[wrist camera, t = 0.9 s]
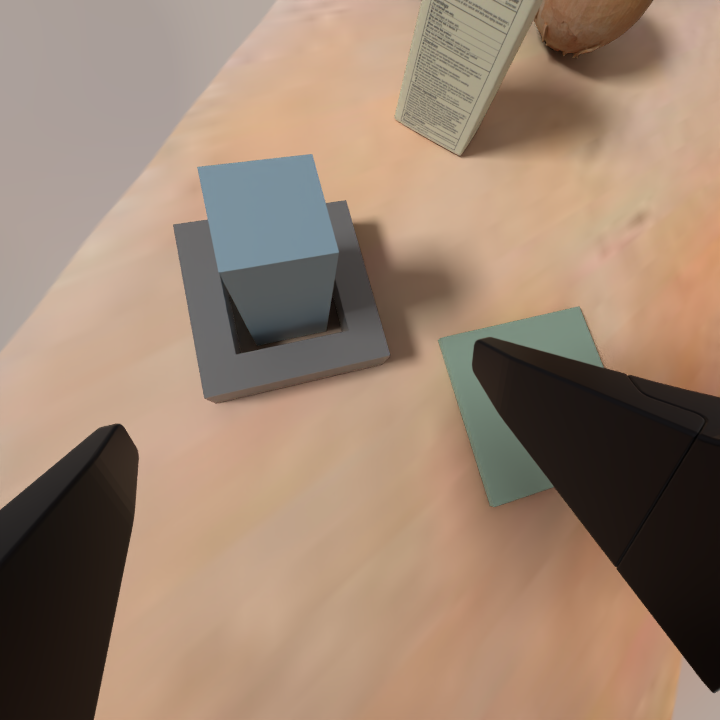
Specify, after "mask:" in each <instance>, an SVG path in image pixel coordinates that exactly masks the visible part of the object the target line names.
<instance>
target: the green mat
mask: <svg viewBox="0 0 720 720" xmlns="http://www.w3.org/2000/svg"><path fill="white" fill-rule="evenodd" d="M486 337H493V338H497V339H501V340H504V341H508V342H511V343H515V344H519V345H522V346H526V347H530V348H533V349H537V350H541V351H544V352H548V353H552V354H555V355H559V356H562V357H566V358H570V359H573V360H577V361H581V362H584V363H588V364H592V365H595V366H599V367H603V365H602V362H601V360H600V357H599V355H598V352H597V350H596V347H595V345H594V342H593V340H592V337H591V335H590V332H589V330H588V327H587V325H586V322H585V320H584V317H583V315H582V312H581V310H580V307H575V308H570V309H566V310H562V311H557V312H553V313H548V314H544V315H540V316H535V317H531V318H526V319H522V320H518V321H513V322H509V323H504V324H500V325H496V326H491V327H487V328H483V329H478V330H474V331H469V332H465V333H461V334H456V335H452V336H447V337H443V338H440V339H439V340H438V342H439V345H440V348H441V351H442V354H443V358H444V361H445V364H446V367H447V370H448V373H449V377H450V380H451V383H452V386H453V389H454V393H455V396H456V399H457V402H458V405H459V408H460V412H461V415H462V418H463V421H464V424H465V427H466V431H467V434H468V437H469V440H470V443H471V447H472V450H473V453H474V456H475V459H476V462H477V466H478V469H479V472H480V475H481V478H482V481H483V485H484V488H485V491H486V494H487V497H488V501H489V504H490V506H492V507H496V506H499V505H502V504H505V503H508V502H511V501H514V500H517V499H520V498H523V497H526V496H529V495H532V494H535V493H538V492H541V491H544V490H547V489H550V488H553V487H554V486H553V485H552V484H551V482H550V481H549V480H548V478H547V477H546V476H545V474H544V473H543V472H542V470H541V469H540V468H539V467H538V465H537V464H536V463H535V461H534V460H533V459H532V457H531V456H530V455H529V453H528V452H527V451H526V450H525V448H524V447H523V446H522V444H521V443H520V442H519V440H518V439H517V438H516V436H515V435H514V434H513V433H512V431H511V430H510V429H509V427H508V426H507V425H506V423H505V422H504V421H503V419H502V418H501V417H500V415H499V414H498V412H497V411H496V409H495V407H494V406H493V404H492V403H491V401H490V399H489V398H488V396H487V394H486V393H485V391H484V389H483V388H482V386H481V384H480V383H479V381H478V379H477V378H476V376H475V374H474V372H473V370H472V358H473V349H474V343H475V341H476V340H478V339H482V338H486ZM603 368H604V367H603Z"/></svg>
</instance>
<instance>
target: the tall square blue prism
mask: <svg viewBox="0 0 720 720" xmlns="http://www.w3.org/2000/svg"><path fill="white" fill-rule="evenodd" d="M197 168H198V173H199V178H200V183H201V188H202V193H203V198H204V203H205V208H206V212H207V217H208V222H209V227H210V232H211V237H212V242H213V247H214V252H215V257H216V262H217V267H218V272H219V274H220V276H221V278H222V280H223V282H224V284H225V286H226V288H227V290H228V292H229V294H230V296H231V297H232V299H233V301H234V303H235V305H236V307H237V309H238V311H239V313H240V315H241V317H242V319H243V320H244V322H245V324H246V326H247V328H248V330H249V332H250V334H251V336H252V338H253V340H254V342H255V343H256V345H257V346H258V345H263V344H268V343H273V342H277V341H282V340H287V339H292V338H296V337H301V336H306V335H311V334H315V333H320V332H325V331H326V330H327V324H328V317H329V311H330V305H331V299H332V293H333V287H334V280H335V274H336V268H337V262H338V256H339V250H338V247H337V243H336V240H335V236H334V232H333V229H332V225H331V221H330V218H329V214H328V210H327V207H326V203H325V199H324V196H323V192H322V188H321V185H320V181H319V177H318V174H317V170H316V166H315V163H314V159H313V155H312V154H309V155H300V156H291V157H282V158H273V159H265V160H256V161H247V162H238V163H229V164H220V165H211V166H202V167H197Z"/></svg>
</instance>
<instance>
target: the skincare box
mask: <svg viewBox="0 0 720 720" xmlns="http://www.w3.org/2000/svg"><path fill="white" fill-rule="evenodd" d="M542 2H543V0H422V1H421V6H420V9H419V14H418V18H417V22H416V26H415V30H414V35H413V39H412V44H411V48H410V53H409V57H408V61H407V65H406V70H405V74H404V78H403V82H402V87H401V91H400V96H399V100H398V104H397V109H396V113H395V119H396V120H397V121H398V122H400V123H402V124H403V125H405V126H407V127H408V128H410V129H412V130H414V131H415V132H417V133H419V134H421V135H423V136H424V137H426V138H428V139H429V140H431V141H433V142H435V143H437V144H438V145H440V146H442V147H444V148H446V149H447V150H449V151H451V152H453V153H455V154H457V155H459V156H460V155H461V154H462V153H463V152H464V150H465V149H466V147H467V146H468V144H469V143H470V141H471V140H472V138H473V136H474V135H475V133H476V131H477V130H478V128H479V126H480V124H481V122H482V120H483V118H484V116H485V114H486V113H487V111H488V109H489V107H490V105H491V103H492V101H493V99H494V97H495V95H496V93H497V91H498V89H499V87H500V85H501V83H502V81H503V79H504V77H505V75H506V73H507V71H508V69H509V67H510V65H511V63H512V61H513V59H514V57H515V55H516V53H517V51H518V49H519V47H520V45H521V43H522V41H523V39H524V37H525V35H526V33H527V31H528V30H529V28H530V26H531V24H532V22H533V20H534V18H535V16H536V14H537V12H538V10H539V8H540V6H541V4H542Z"/></svg>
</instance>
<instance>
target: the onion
mask: <svg viewBox="0 0 720 720" xmlns="http://www.w3.org/2000/svg"><path fill="white" fill-rule="evenodd" d="M652 1H653V0H543V2H542V4H541V6H540V8H539V10H538V12H537V14H536V16H535V18H534V22H535V24H536V26H537V28H538V30H539V32H540V34H541V36H542V42H544V40H545V43H546V45H547V46H549V47H551V48H552V49H554V50H556V51H558V52H559V50H561V51H562V53H563V56H564V55H566V53H573V54H574V55H573V56H572V57H573V58H574V57H576V59H577V58H578V56H579V54H584V53H589V52H592V51H594V50H596V49H598V48H600V47H602V46H604V45H606V44H608V43H610V42H611V41H613V40H615V39H617V38H618V37H620V36H621V35H622V34H624V33H625V32H626V31H627V30H628V29H629V28H631V27H632V26H633V25H634V24H635V23H636V22H637V21H638V20H639V19H640V18H641V16H642V15H643V14H644V12H645V11H646V10H647V8H648V7H649V6H650V4H651V3H652Z"/></svg>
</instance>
